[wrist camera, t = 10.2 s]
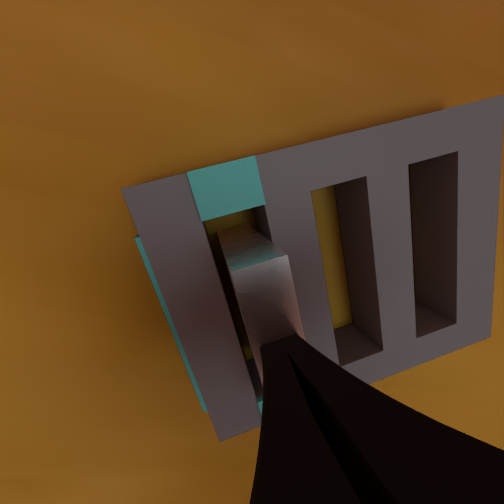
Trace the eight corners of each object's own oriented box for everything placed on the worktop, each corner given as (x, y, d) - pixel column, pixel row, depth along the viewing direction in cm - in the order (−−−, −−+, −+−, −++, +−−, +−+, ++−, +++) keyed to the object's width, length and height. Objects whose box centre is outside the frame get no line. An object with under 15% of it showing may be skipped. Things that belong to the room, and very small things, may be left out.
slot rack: (446, 314, 19) (495, 339, 16) (212, 399, 16) (214, 449, 13) (445, 112, 15) (512, 92, 11) (133, 189, 12) (109, 190, 9)
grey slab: (275, 337, 16) (326, 439, 10) (250, 346, 16) (284, 457, 10) (246, 222, 14) (287, 254, 7) (216, 231, 14) (230, 272, 7)
